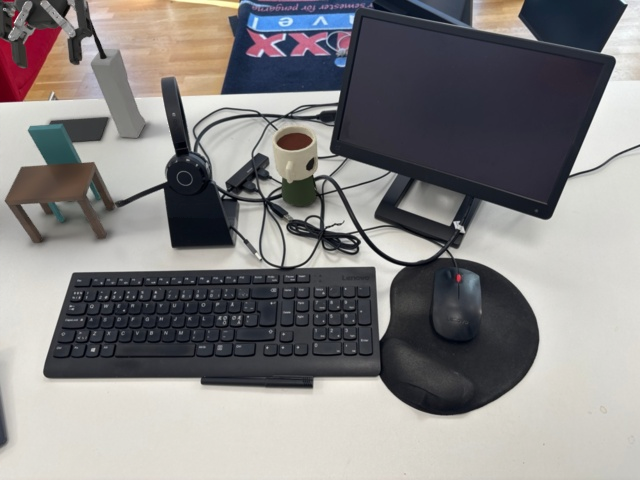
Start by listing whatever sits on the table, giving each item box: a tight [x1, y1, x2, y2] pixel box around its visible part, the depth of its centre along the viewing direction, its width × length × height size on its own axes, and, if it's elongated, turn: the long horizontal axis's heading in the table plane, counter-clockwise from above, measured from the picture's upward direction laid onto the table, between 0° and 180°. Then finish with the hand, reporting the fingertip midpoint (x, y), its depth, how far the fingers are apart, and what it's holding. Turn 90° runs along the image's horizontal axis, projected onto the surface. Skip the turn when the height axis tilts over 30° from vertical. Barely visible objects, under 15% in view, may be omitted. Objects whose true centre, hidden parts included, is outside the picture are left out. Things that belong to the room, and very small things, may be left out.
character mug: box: [271, 124, 319, 207], centre depth 87 cm, size 11×7×13 cm, turn 170°
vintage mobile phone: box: [90, 20, 146, 139], centre depth 97 cm, size 4×5×25 cm
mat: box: [48, 116, 109, 143], centre depth 107 cm, size 12×8×1 cm, turn 93°
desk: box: [4, 161, 116, 244], centre depth 86 cm, size 12×8×10 cm, turn 93°
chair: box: [27, 124, 102, 223], centre depth 86 cm, size 6×6×16 cm
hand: (48, 65), depth 84 cm, fingers open, 8 cm apart
